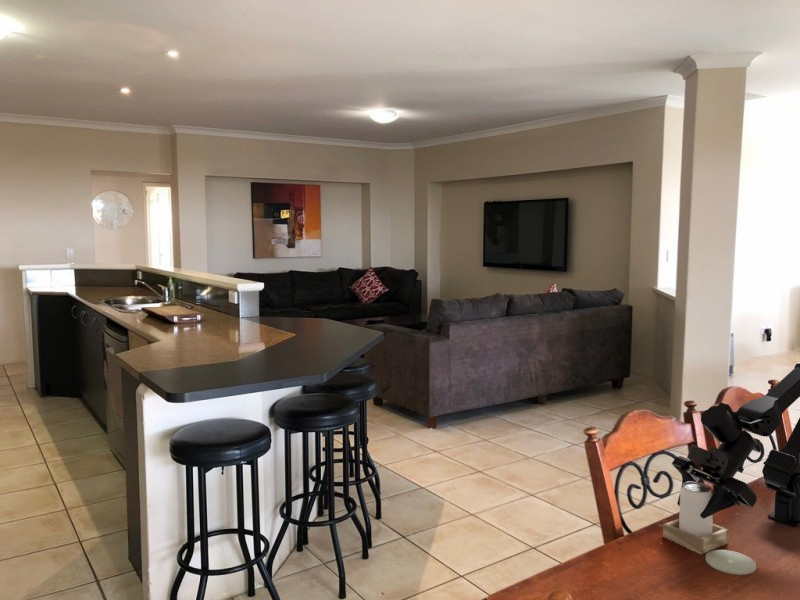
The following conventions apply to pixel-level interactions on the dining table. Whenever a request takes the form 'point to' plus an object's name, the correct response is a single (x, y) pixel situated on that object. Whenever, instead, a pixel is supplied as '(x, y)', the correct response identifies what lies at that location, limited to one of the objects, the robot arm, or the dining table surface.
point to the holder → (694, 542)
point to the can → (695, 509)
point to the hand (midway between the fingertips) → (690, 511)
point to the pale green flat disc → (730, 562)
